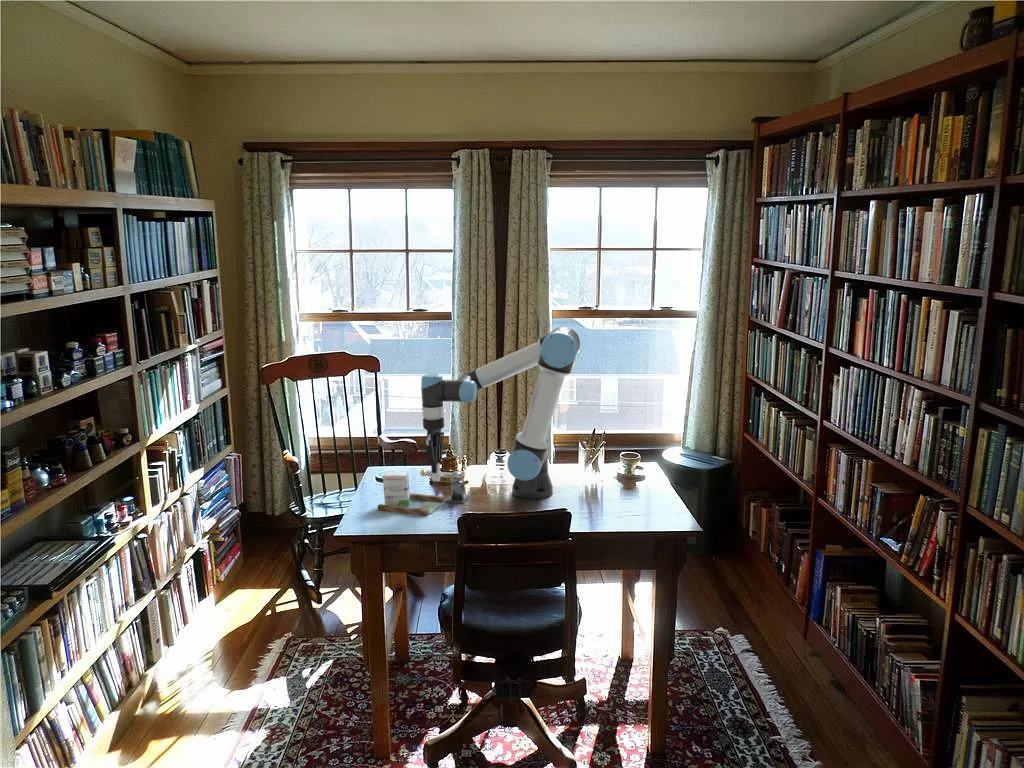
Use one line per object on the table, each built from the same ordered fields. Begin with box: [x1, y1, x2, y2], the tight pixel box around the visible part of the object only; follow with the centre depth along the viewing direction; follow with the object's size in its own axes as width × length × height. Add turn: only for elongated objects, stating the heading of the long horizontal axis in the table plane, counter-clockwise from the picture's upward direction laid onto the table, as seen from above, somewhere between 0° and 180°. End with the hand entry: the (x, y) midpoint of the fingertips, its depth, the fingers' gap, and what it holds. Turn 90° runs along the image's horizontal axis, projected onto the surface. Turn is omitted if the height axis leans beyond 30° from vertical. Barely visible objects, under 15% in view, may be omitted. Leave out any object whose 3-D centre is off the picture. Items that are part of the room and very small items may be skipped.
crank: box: [419, 469, 463, 480], centre depth 281 cm, size 16×4×2 cm, turn 71°
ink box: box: [382, 471, 411, 507], centre depth 276 cm, size 9×5×12 cm, turn 85°
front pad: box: [416, 501, 444, 515], centre depth 273 cm, size 7×11×1 cm, turn 161°
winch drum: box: [445, 478, 472, 504], centre depth 280 cm, size 7×7×8 cm
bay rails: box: [377, 492, 445, 517], centre depth 275 cm, size 19×15×2 cm
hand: (436, 480), depth 278 cm, fingers closed
